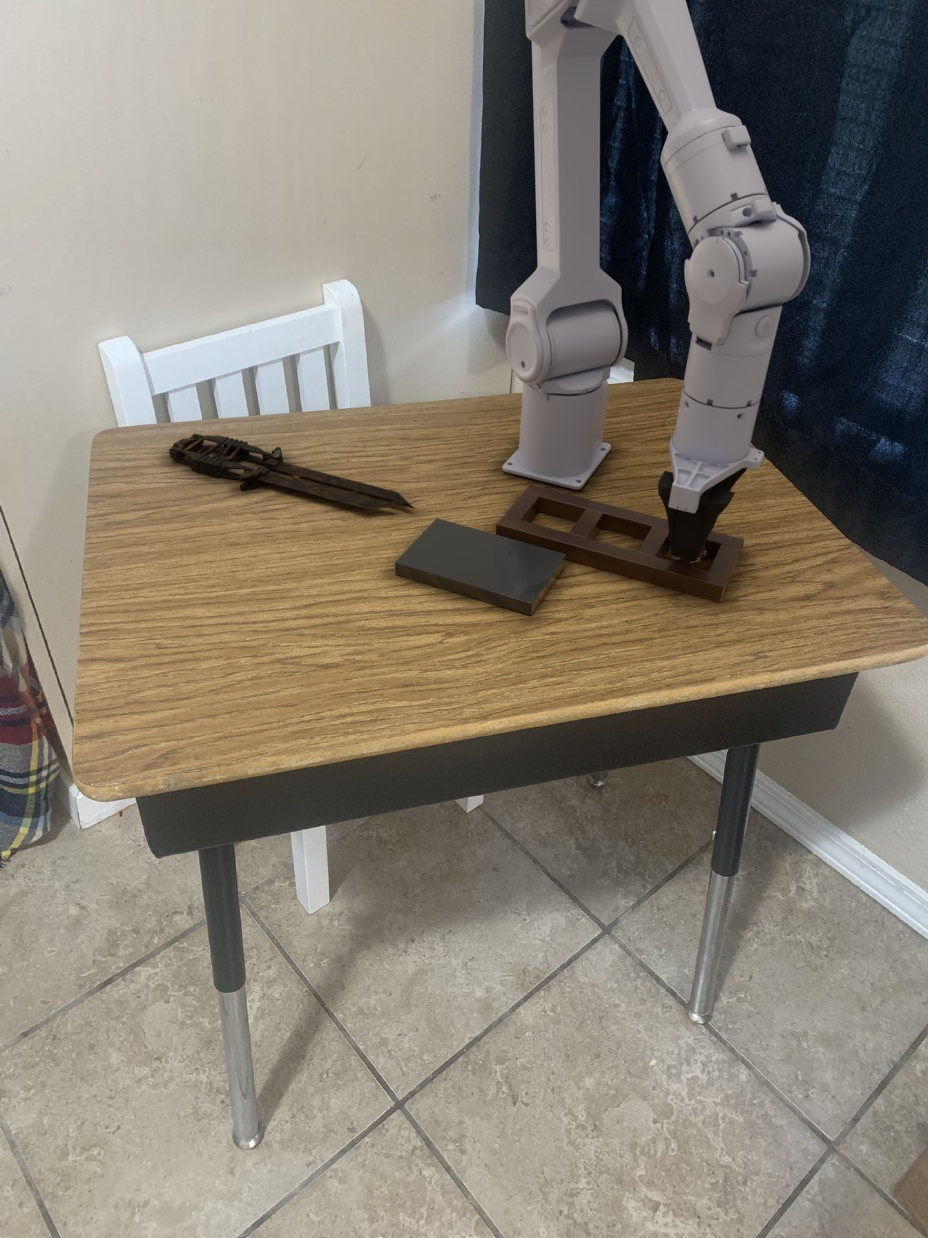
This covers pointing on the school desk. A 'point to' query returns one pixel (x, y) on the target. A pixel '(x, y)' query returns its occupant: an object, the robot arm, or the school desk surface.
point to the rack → (615, 558)
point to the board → (481, 565)
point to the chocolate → (687, 562)
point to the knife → (273, 464)
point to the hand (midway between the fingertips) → (690, 544)
